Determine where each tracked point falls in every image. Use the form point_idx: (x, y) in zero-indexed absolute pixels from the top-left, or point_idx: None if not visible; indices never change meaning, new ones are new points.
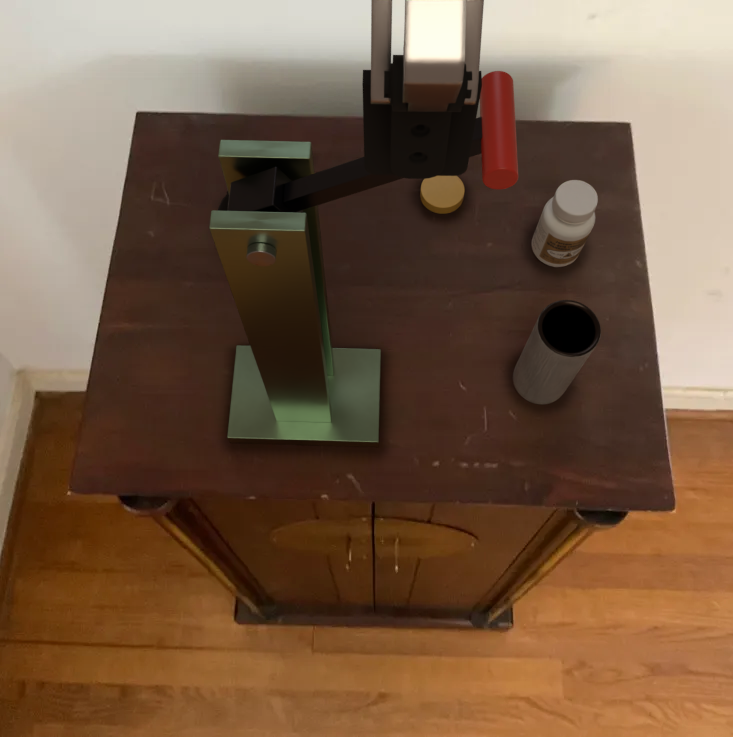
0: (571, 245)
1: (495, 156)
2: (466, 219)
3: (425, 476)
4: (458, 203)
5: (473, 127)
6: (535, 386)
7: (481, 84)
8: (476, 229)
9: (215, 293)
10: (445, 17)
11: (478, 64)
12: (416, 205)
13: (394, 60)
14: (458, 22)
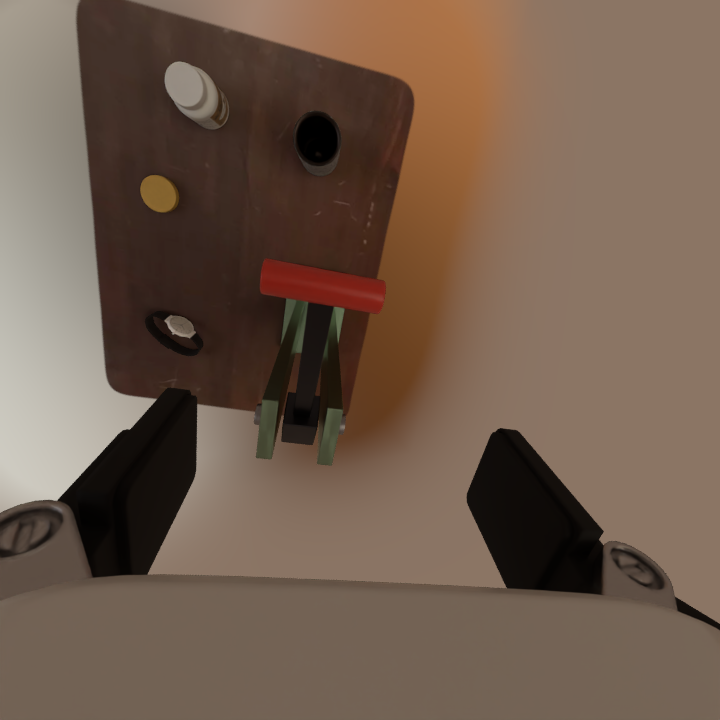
0: (219, 98)
1: (368, 305)
2: (183, 178)
3: (371, 249)
4: (171, 183)
5: (557, 477)
6: (334, 166)
7: (601, 531)
8: (193, 172)
9: (241, 356)
10: None
11: (676, 606)
12: (171, 216)
13: None
14: None
